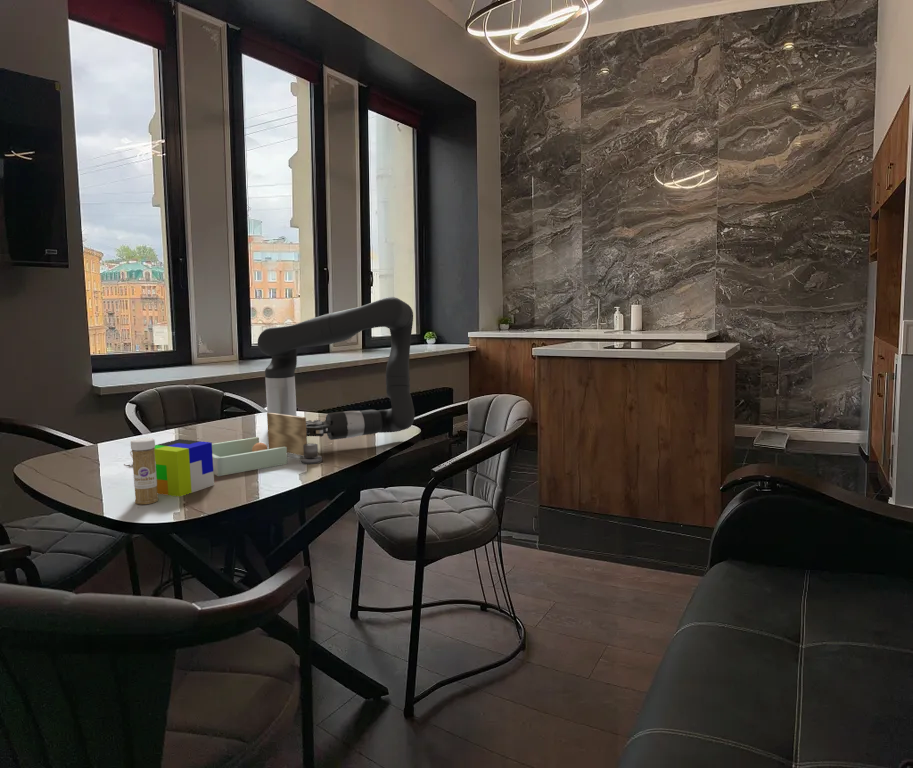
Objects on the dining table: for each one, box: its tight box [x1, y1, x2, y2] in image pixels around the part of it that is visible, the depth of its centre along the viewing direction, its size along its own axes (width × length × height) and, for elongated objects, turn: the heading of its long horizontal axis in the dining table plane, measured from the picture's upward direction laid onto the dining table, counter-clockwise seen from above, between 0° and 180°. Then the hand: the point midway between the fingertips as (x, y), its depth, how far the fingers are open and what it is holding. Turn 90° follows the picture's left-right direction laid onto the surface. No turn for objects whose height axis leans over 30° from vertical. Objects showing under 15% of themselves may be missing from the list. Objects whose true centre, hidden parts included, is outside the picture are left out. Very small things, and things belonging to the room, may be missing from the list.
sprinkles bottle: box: [130, 437, 159, 506], centre depth 140 cm, size 5×5×13 cm
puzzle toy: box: [154, 438, 215, 498], centre depth 151 cm, size 10×10×10 cm
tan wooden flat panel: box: [266, 412, 319, 458], centre depth 178 cm, size 18×4×10 cm, turn 55°
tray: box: [212, 436, 288, 477], centre depth 173 cm, size 18×18×4 cm
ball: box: [252, 442, 269, 452], centre depth 180 cm, size 4×4×4 cm
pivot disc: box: [299, 455, 323, 465], centre depth 174 cm, size 6×6×1 cm
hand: (283, 431), depth 181 cm, fingers closed
